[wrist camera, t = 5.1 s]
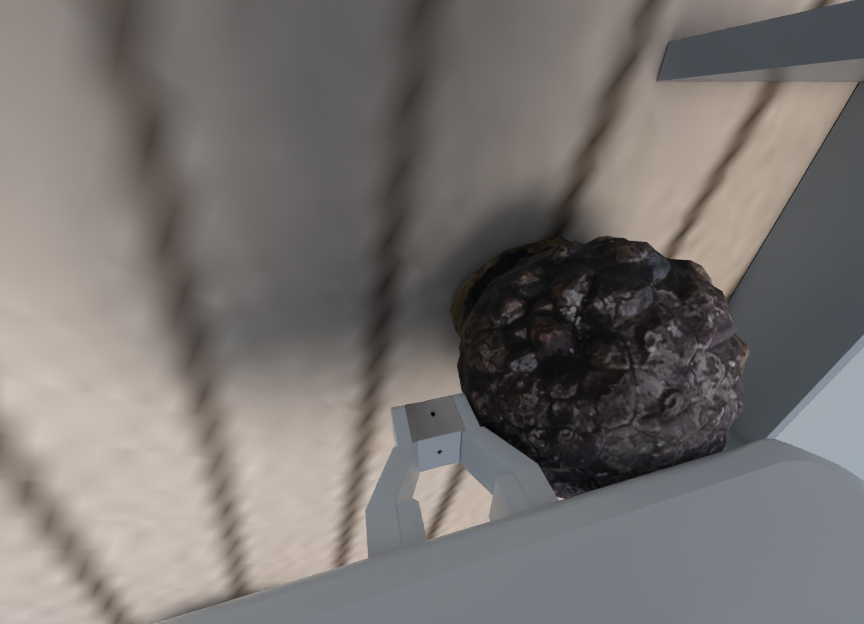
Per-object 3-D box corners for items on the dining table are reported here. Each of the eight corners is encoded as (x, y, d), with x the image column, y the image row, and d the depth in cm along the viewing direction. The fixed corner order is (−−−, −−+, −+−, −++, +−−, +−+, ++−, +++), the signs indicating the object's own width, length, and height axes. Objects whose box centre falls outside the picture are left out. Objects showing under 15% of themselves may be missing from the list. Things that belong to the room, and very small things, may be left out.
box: (669, 42, 12) (905, -12, 7) (896, 49, 14) (1184, 15, 9) (550, 427, 24) (603, 505, 20) (682, 393, 27) (758, 455, 22)
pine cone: (563, 425, 25) (674, 576, 17) (391, 329, 16) (451, 565, 7) (673, 336, 22) (868, 465, 14) (544, 157, 13) (902, 228, 5)
